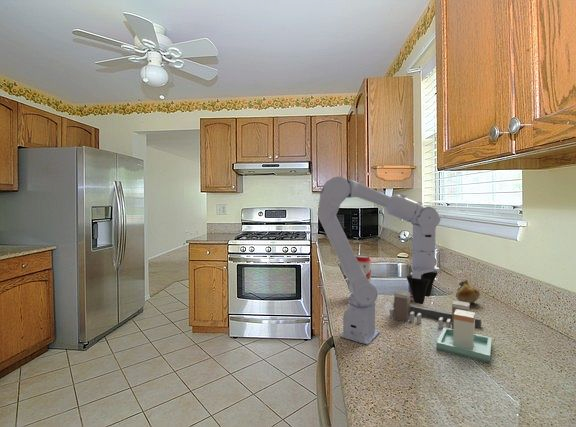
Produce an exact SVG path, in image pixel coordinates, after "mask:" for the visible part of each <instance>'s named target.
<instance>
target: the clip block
mask: <svg viewBox="0 0 576 427" xmlns="http://www.w3.org/2000/svg"><path fill="white" fill-rule="evenodd" d="M415 315H416V324H420V323H422V316H423V317H426V318H432V319H438V329H443V328H444V321H446V324H445V325H446V326H445V328H450V329H452V311H447V310H441V309H437V308H431V307H425V306H421V305H415V304H410V318H409V322H411V323H413V322H414V321H415ZM389 317H390V318H393V319H394V302H393V305H392V307H391V308H390V309H389ZM475 328H482V317H478V316H475Z"/></svg>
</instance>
